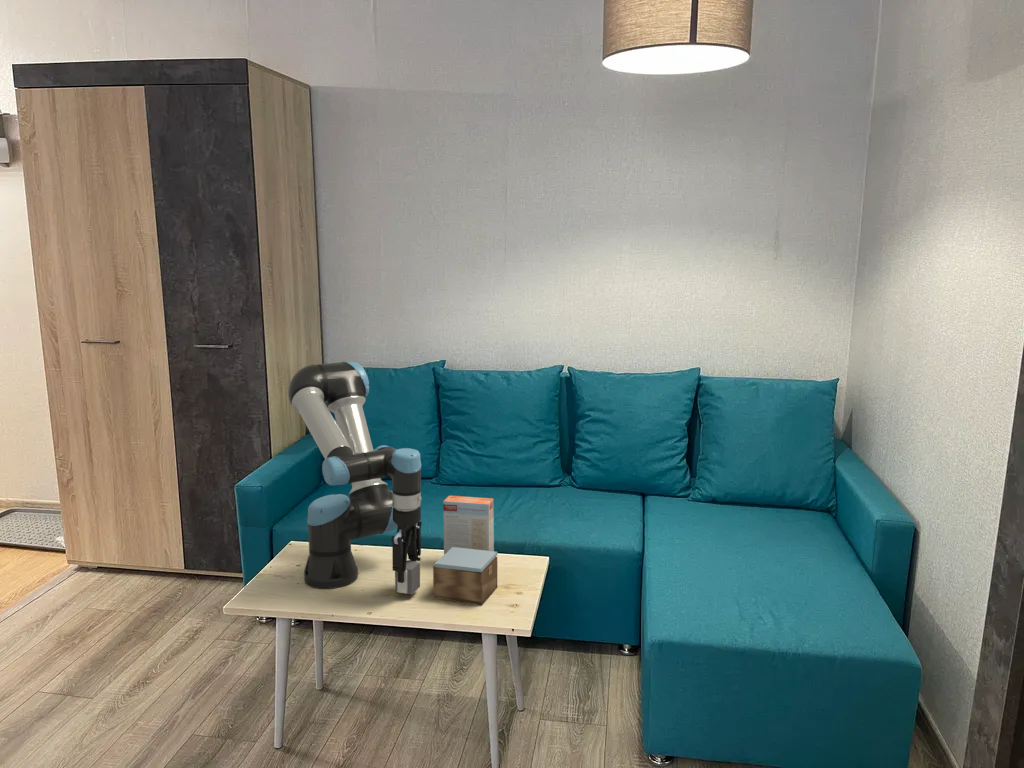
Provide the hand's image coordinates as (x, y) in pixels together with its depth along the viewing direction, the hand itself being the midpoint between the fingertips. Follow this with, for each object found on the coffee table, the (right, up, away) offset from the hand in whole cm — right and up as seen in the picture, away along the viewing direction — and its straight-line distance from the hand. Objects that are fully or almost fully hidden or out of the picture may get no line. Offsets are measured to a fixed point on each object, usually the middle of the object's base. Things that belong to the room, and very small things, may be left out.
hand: (407, 587), depth 218 cm
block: (0, 0, 0) cm, 0 cm away
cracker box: (+16, +1, +20) cm, 25 cm away
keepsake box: (+16, -2, +2) cm, 16 cm away
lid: (+16, +7, 0) cm, 18 cm away
